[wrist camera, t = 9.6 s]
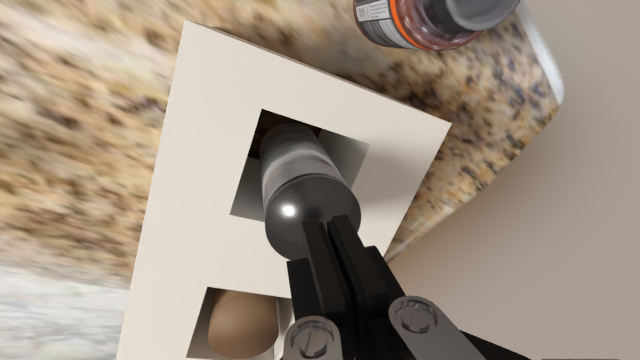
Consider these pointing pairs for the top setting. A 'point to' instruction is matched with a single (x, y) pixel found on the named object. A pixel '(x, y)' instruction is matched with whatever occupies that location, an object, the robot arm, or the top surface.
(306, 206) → the steel pin
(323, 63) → the top surface
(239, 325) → the walnut dowel
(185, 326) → the socket block
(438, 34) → the supplement bottle
